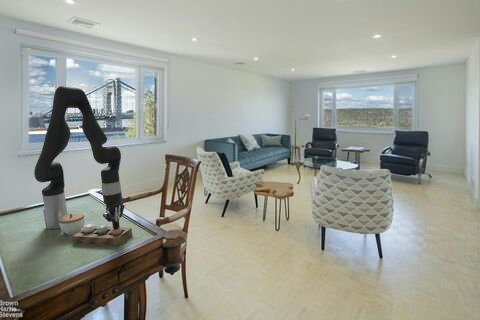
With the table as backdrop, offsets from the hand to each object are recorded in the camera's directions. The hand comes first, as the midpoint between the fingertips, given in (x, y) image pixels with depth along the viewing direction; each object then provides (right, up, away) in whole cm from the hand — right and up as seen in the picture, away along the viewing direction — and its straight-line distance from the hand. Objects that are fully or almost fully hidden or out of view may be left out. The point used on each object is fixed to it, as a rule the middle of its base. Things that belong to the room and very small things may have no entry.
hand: (116, 228), depth 122 cm
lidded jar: (-26, -4, +10) cm, 28 cm away
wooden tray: (-7, -5, +2) cm, 9 cm away
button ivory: (-14, -2, +3) cm, 14 cm away
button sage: (-7, -2, +2) cm, 7 cm away
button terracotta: (0, -2, 0) cm, 2 cm away
